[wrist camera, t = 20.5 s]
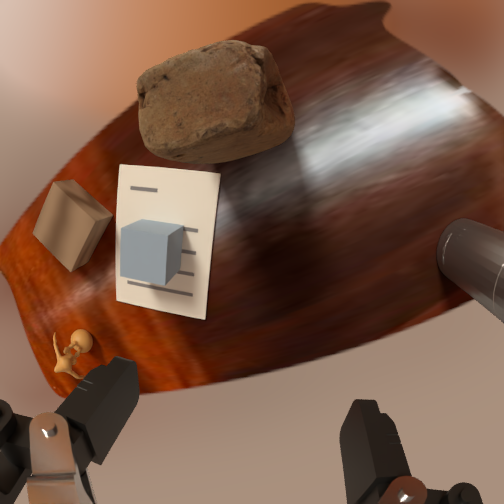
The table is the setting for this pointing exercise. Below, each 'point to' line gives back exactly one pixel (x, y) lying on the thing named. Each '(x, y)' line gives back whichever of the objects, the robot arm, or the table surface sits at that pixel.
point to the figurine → (80, 343)
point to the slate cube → (151, 251)
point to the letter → (176, 212)
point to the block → (214, 104)
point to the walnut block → (71, 223)
